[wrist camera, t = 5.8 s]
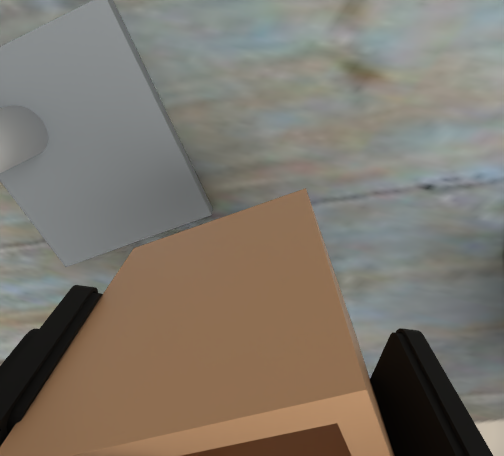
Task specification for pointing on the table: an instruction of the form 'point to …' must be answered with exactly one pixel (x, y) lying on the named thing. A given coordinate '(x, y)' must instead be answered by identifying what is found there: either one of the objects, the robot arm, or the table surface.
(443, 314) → the table surface
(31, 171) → the grey peg stand
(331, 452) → the hollow square tube
